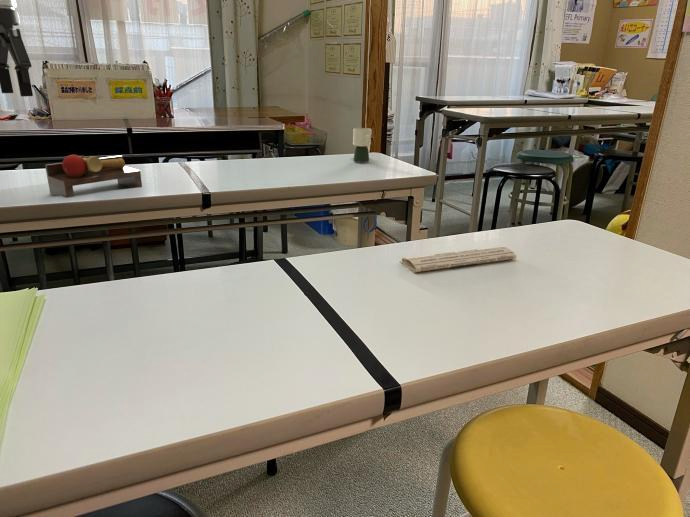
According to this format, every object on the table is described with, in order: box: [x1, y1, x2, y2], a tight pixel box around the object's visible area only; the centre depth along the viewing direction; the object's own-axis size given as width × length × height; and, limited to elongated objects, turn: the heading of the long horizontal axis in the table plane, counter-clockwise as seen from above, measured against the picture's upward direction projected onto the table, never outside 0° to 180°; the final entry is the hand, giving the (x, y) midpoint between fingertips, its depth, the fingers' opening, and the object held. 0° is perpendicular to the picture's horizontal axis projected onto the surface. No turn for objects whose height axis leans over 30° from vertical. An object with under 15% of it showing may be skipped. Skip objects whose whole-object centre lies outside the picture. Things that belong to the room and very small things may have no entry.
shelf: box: [44, 155, 143, 199], centre depth 149 cm, size 22×11×8 cm, turn 140°
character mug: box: [352, 127, 372, 163], centre depth 203 cm, size 11×7×13 cm, turn 27°
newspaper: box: [399, 245, 517, 273], centre depth 105 cm, size 24×7×2 cm, turn 112°
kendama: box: [61, 154, 126, 177], centre depth 148 cm, size 8×6×18 cm
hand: (17, 94), depth 140 cm, fingers open, 13 cm apart
